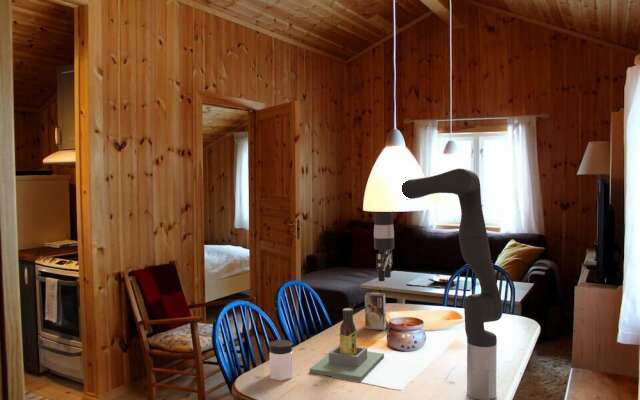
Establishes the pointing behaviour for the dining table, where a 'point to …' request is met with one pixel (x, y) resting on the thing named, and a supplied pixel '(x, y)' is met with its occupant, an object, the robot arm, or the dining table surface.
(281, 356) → the jar
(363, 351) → the deck plate
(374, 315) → the coffee box
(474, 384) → the robot arm
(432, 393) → the dining table surface
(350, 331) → the sauce bottle
